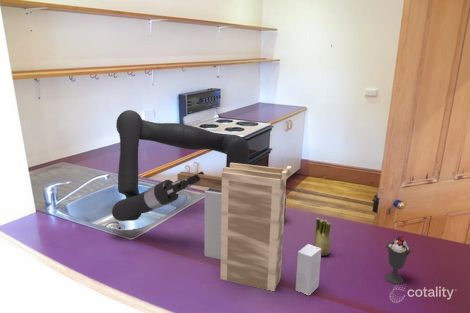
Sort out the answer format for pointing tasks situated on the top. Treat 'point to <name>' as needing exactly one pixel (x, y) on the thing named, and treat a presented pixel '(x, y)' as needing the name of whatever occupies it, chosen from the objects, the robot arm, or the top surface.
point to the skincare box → (308, 269)
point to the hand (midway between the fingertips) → (201, 175)
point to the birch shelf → (252, 224)
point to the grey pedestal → (213, 223)
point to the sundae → (397, 258)
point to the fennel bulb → (322, 236)
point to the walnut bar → (203, 180)
